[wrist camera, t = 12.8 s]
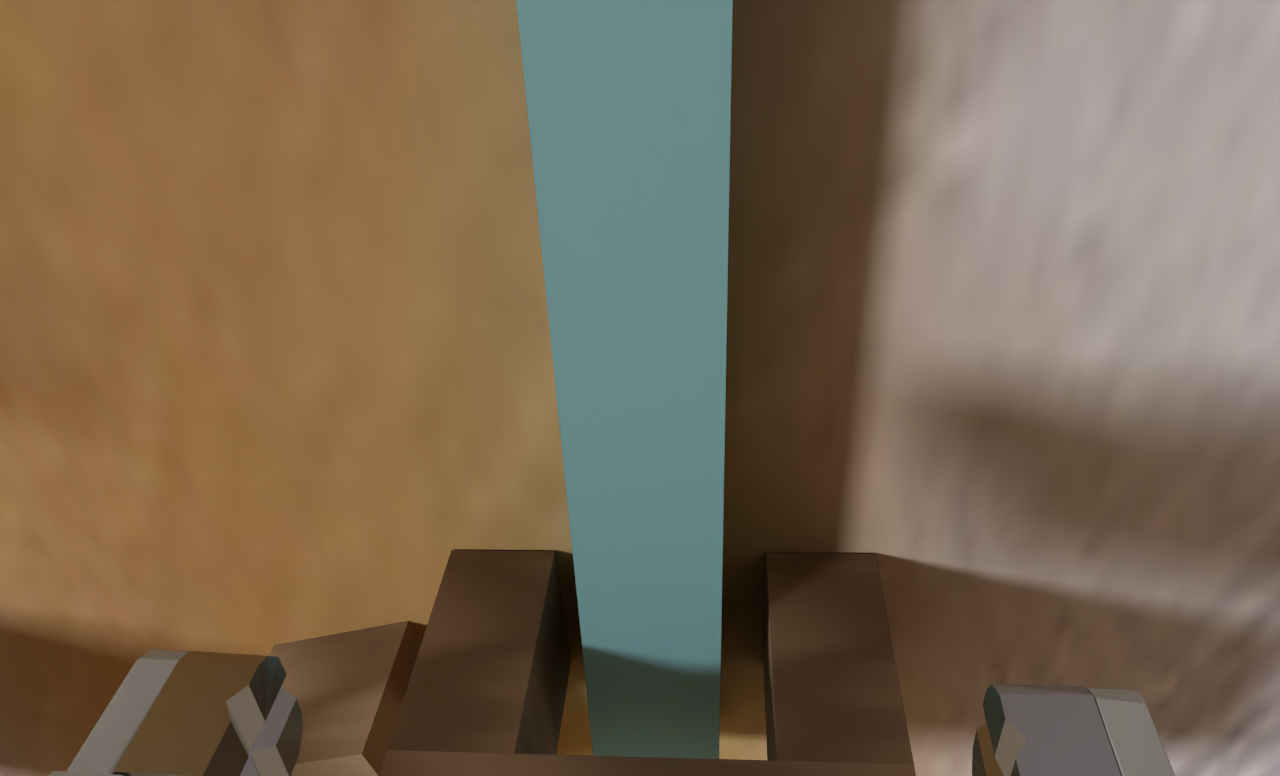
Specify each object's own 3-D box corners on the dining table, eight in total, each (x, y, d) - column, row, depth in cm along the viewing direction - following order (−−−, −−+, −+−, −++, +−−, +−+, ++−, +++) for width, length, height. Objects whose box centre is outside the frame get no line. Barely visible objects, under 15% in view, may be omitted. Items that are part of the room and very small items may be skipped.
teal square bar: (735, -258, 14) (738, -252, 12) (718, 707, 27) (718, 808, 24) (532, -249, 14) (491, -243, 12) (609, 702, 27) (598, 802, 24)
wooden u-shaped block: (875, 553, 22) (950, 964, 15) (862, 668, 25) (922, 1074, 17) (451, 549, 23) (326, 936, 16) (476, 661, 26) (376, 1044, 18)
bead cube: (408, 618, 25) (361, 754, 22) (471, 714, 27) (436, 851, 24) (275, 643, 26) (210, 776, 23) (345, 734, 28) (295, 869, 25)
